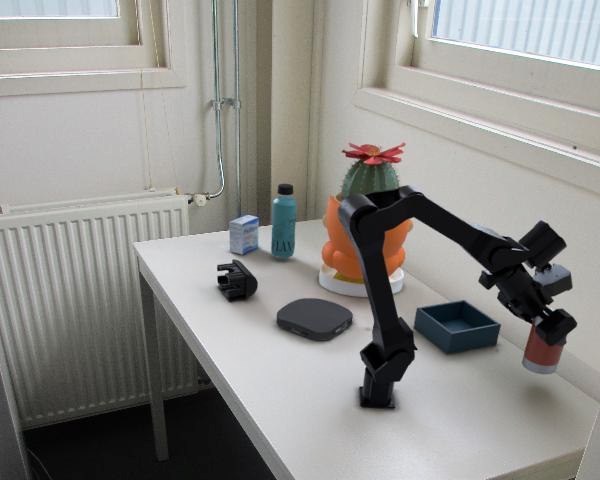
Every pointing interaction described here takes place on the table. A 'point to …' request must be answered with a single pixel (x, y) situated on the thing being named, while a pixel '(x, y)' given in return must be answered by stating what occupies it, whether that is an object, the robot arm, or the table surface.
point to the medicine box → (244, 234)
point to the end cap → (236, 281)
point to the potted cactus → (339, 251)
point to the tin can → (540, 353)
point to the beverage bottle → (283, 222)
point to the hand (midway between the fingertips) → (554, 335)
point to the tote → (456, 326)
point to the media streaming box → (314, 318)
